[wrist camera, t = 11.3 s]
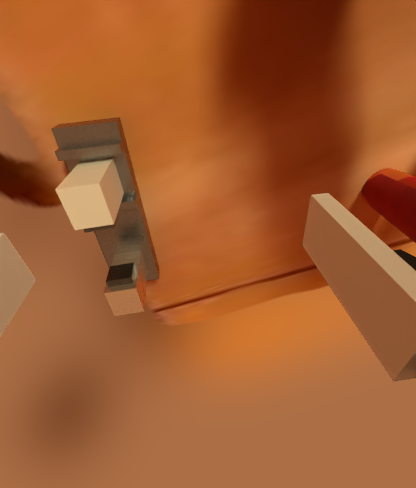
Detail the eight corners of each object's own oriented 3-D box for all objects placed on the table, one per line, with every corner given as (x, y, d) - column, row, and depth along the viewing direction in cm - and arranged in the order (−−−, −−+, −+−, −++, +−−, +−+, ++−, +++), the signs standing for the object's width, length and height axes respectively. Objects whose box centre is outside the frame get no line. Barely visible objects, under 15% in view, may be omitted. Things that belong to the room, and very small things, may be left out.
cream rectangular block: (79, 162, 30) (55, 189, 23) (113, 157, 30) (98, 183, 24) (95, 204, 33) (78, 238, 27) (126, 199, 33) (116, 232, 27)
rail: (59, 124, 30) (16, 148, 21) (119, 117, 30) (101, 138, 21) (118, 275, 44) (107, 326, 35) (159, 269, 44) (157, 317, 36)
